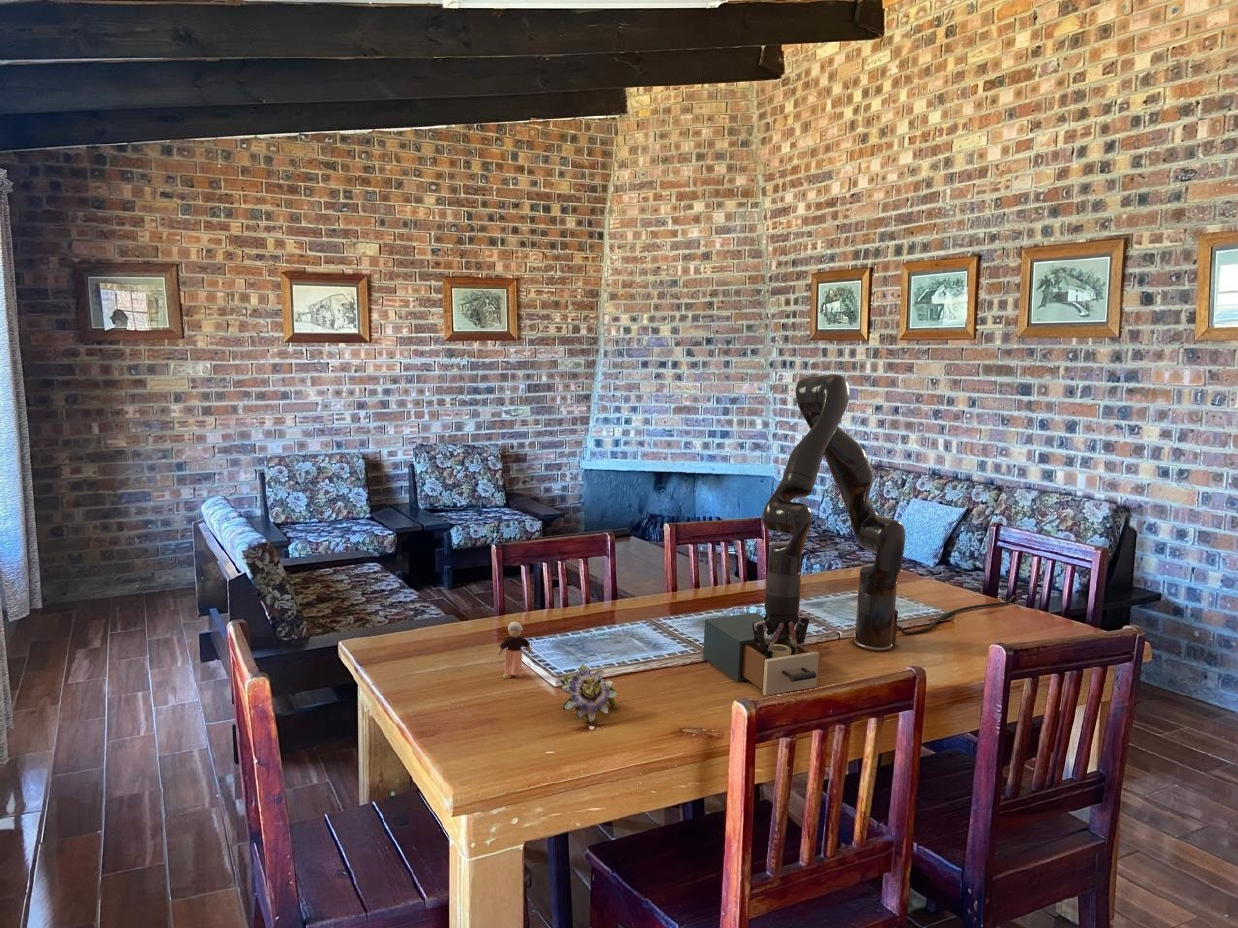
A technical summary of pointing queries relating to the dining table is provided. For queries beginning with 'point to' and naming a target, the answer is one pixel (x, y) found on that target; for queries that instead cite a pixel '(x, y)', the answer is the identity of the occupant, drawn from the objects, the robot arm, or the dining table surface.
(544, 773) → the dining table surface
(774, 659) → the drawer
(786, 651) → the tape
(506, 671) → the grandmother figurine
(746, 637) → the cabinet
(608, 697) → the passion flower
